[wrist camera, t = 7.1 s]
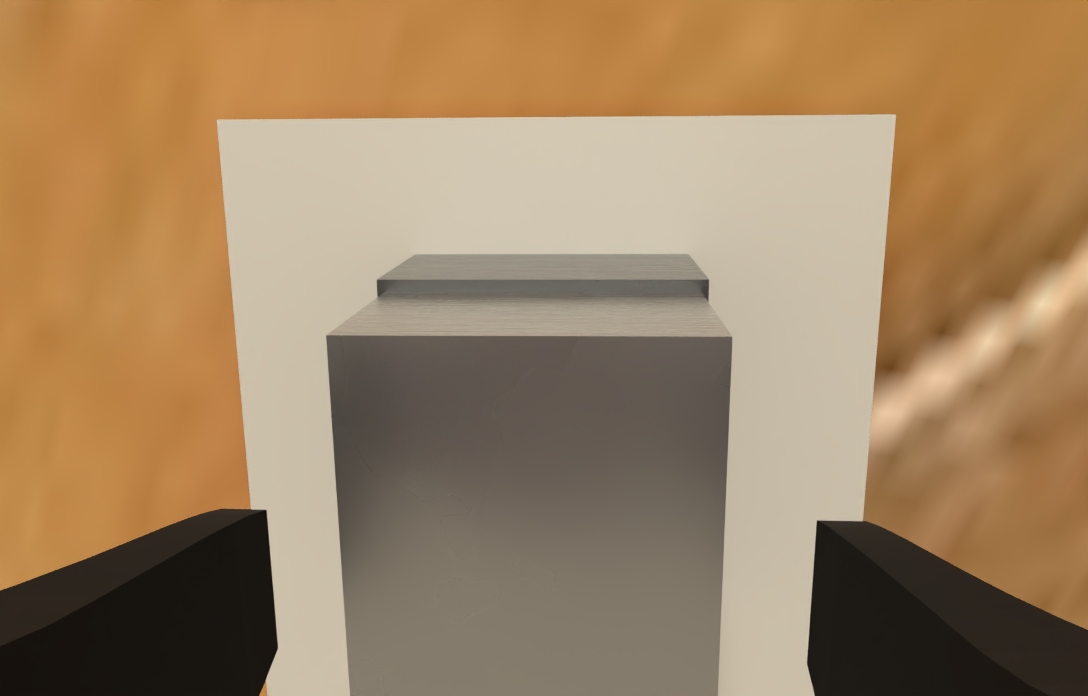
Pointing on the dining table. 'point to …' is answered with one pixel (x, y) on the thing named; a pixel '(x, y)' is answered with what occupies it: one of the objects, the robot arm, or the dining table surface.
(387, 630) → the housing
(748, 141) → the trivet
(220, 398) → the dining table surface
